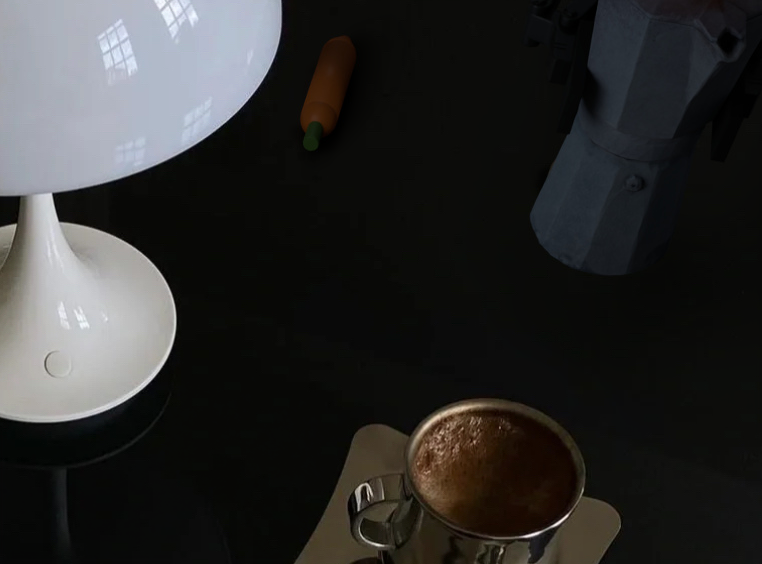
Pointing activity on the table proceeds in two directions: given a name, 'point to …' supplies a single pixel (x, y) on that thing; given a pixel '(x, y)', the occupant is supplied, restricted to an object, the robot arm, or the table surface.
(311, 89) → the carrot
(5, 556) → the table surface
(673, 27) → the moka pot
